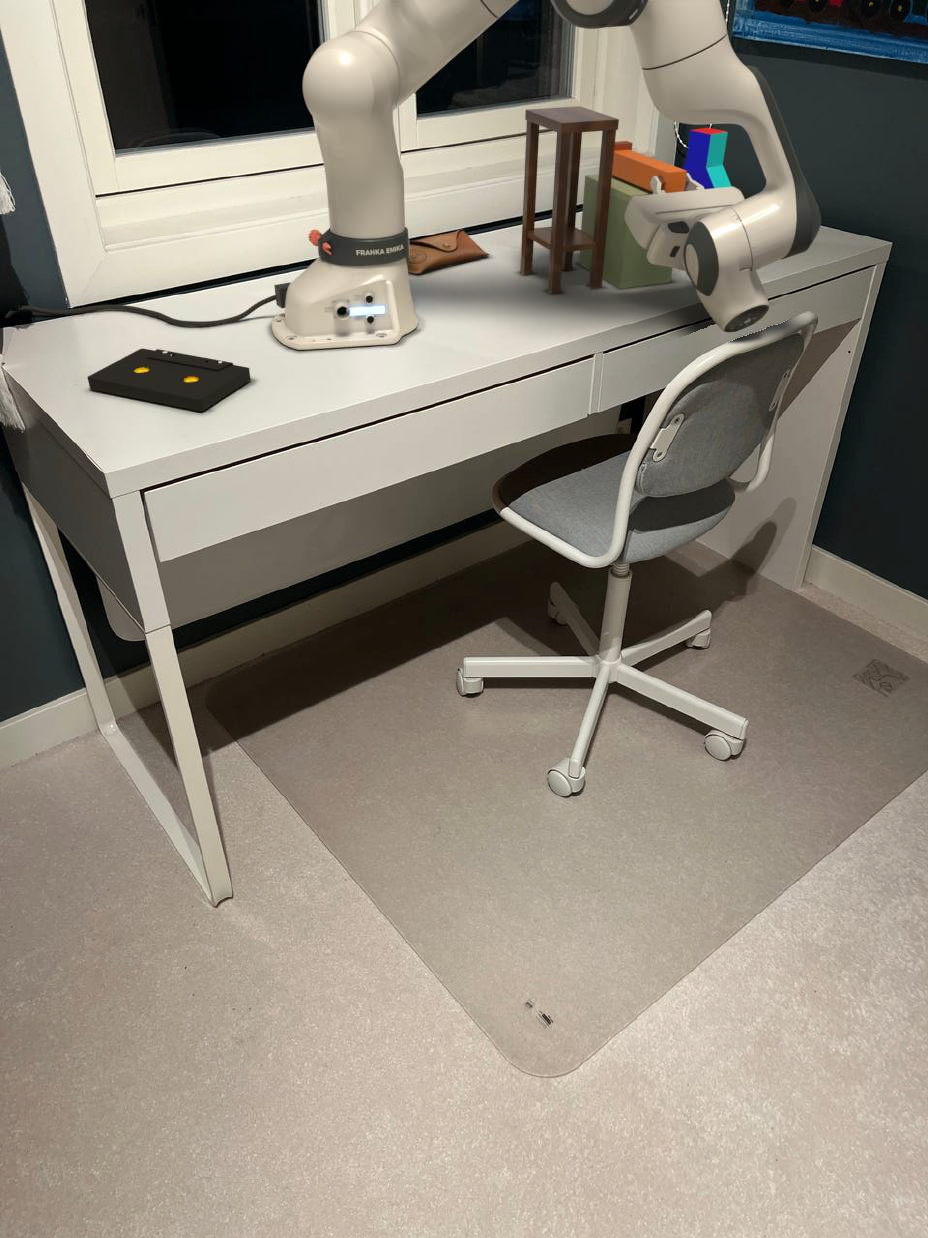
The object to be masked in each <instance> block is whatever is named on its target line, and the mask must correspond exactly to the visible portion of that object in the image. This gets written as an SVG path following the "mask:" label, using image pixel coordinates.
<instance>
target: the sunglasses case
mask: <svg viewBox="0 0 928 1238" xmlns="http://www.w3.org/2000/svg"><path fill="white" fill-rule="evenodd" d="M409 246H410V257H409V266H408V274H409V273H410V274H414V275H420V274H423V273H426V272H429V271H433V270H434V271H435V270H437V269H438V270H439V269H443V268H447V267H451V266H457V265H461V264H465V263H469V262H473V261H477V260H480V259H482V258H485V257H487V256H490V253H488V252H486V251H485V250H484V249H483V248H482V247H481V246H480V245H478V244H477V242H476V241H474V240H473V239H472V237H470V236H469V235H468V234H467V233H466V230H465V229H464V228H461V229H458V230H456V231H453V232H448V233H444V234H437V235H433V236H429V237H424V238H420V239H415V240H409Z"/></svg>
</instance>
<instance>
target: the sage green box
mask: <svg viewBox="0 0 928 1238" xmlns="http://www.w3.org/2000/svg"><path fill="white" fill-rule="evenodd" d="M598 177H599V173H597V174H587V175H584V186H583V187H584V188H583V199H582V210H581V211H582V212H581V213H582V214H581V226H580V230H581V231H583V232H585V233H587V234H589V235H591V236H592V237H593V236H594V224H595V212H596V201H597V189H598ZM652 194H653V192H652V191H650V190H647V189H645V188H642V187H640V186H638V185H635V184H633V183H630V182H628V181H626V180H623V179H621V178H619V177H616V176H614V175H612V180H611V191H610V202H609V212H608V223H607V234H606V245H605V255H604V266H603V277H602V280H605V281H606V282H608V283H610V284H612V285H614V286H615V287H617V288H618V289H621V290H622V289H628V288H630V289H631V288H636V287H643V286H644V287H645V286H652V285H660V284H661V285H662V284H669V283H671V280H672V271H673V268H672V267H667V266H662V265H655V264H651V263H650V262H649V261H648V259H647V256H646V255H647V252H648V250H647V249H644V248H643V247H641V246H640V245H639V244H638V242H637V241H636V240H635V238H634V236H633V235H632V233H631V231H630V230H629V228H628V226H627V224H626V222H625V219H624V214H625V211H626V208H627V206H628V204H629V202H630V200H631V198H632V197H634V196H642V195H652ZM578 252H579V253H578V265H580V266H582V267H583V268H585V269H587V270H588V271H589V272H590V271H591V259H592V249H591V250H582V251H578Z"/></svg>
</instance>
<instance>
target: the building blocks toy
mask: <svg viewBox="0 0 928 1238" xmlns="http://www.w3.org/2000/svg"><path fill="white" fill-rule="evenodd" d="M728 133H729V132H728V131H725V130H721V129H715V128H711V127H701V128H697V129H690V131H689V138H688V146H687V147H688V148H687V153H686V160H685V164H684V165H683V166H682V167H681V169H683V170H686V171H687V173H689V175H690V176H691V178H692V180H694V181H696V182H697V183H699V184H700V185H702V186H703V187H704V189H713V188H723V187H733V186H732V184H731V181H730V179H729V176H728V174H727V171H726V169H725V167H724V159H725V152H726V146H727V140H728ZM684 191H686V190H684Z"/></svg>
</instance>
